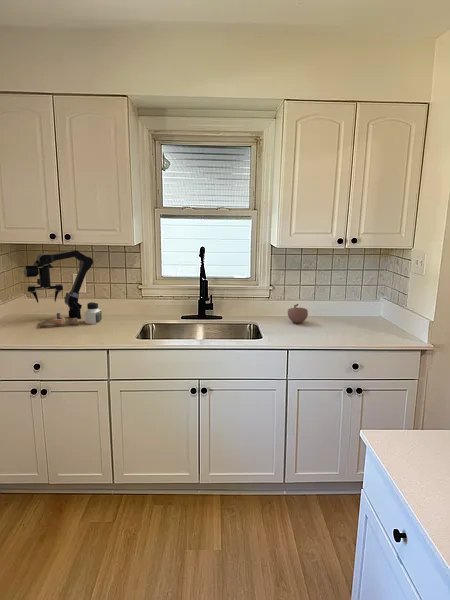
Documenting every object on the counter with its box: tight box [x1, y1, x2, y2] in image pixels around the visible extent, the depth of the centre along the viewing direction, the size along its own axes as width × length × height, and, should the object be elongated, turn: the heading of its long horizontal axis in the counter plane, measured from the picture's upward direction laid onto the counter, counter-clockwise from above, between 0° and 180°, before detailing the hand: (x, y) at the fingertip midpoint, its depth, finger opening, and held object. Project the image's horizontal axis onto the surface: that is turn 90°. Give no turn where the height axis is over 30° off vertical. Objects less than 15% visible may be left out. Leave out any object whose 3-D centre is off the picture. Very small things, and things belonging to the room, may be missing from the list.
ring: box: [52, 316, 66, 323], centre depth 238 cm, size 6×6×2 cm
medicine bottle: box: [84, 301, 103, 325], centre depth 242 cm, size 7×7×12 cm
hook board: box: [39, 312, 79, 329], centre depth 238 cm, size 20×12×6 cm, turn 110°
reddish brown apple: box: [287, 303, 309, 324], centre depth 247 cm, size 12×12×11 cm
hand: (46, 302), depth 240 cm, fingers open, 9 cm apart
